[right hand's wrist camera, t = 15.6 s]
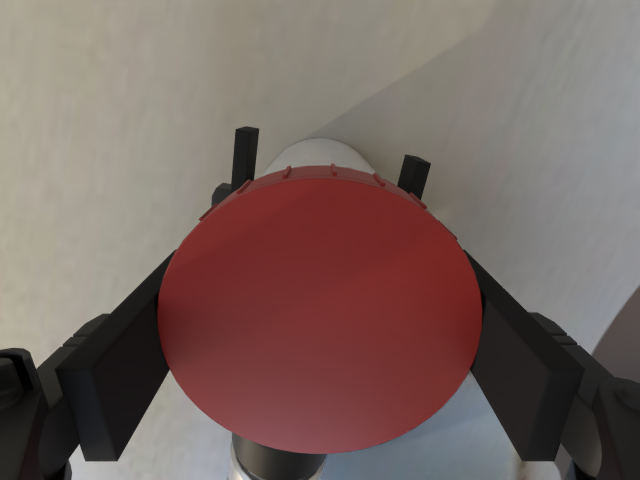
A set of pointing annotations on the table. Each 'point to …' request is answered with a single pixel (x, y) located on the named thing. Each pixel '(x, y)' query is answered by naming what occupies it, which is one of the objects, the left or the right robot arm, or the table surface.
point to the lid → (319, 311)
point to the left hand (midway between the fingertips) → (333, 144)
